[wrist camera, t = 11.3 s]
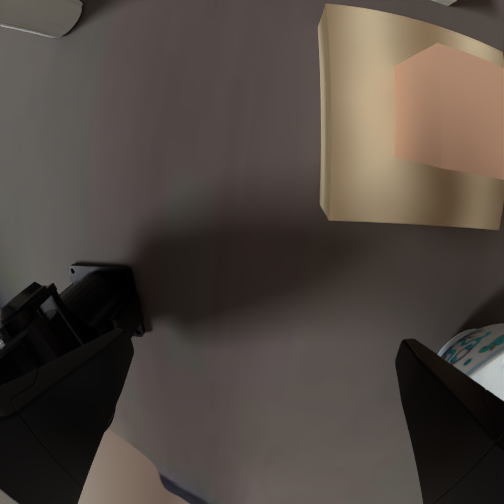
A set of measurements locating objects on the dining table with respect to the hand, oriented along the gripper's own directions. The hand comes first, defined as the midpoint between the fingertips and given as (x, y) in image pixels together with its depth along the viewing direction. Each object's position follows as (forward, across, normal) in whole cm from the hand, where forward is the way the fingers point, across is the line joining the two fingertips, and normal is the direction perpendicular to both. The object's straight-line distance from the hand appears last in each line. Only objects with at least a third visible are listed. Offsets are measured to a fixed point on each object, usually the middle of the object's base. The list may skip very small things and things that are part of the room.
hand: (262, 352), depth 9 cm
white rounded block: (+12, +19, -21) cm, 31 cm away
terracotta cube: (+8, -9, -8) cm, 14 cm away
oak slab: (+12, -9, -8) cm, 17 cm away
